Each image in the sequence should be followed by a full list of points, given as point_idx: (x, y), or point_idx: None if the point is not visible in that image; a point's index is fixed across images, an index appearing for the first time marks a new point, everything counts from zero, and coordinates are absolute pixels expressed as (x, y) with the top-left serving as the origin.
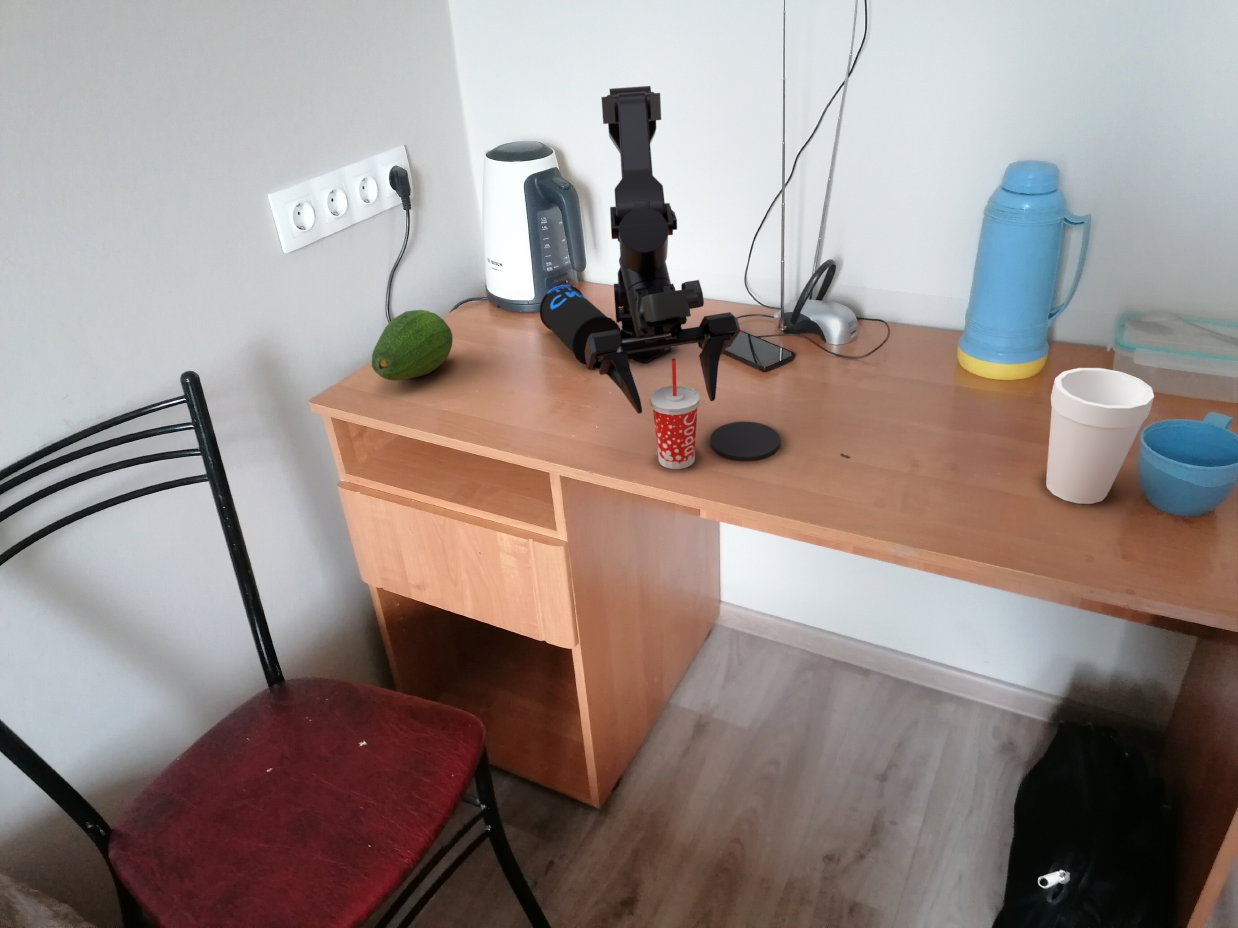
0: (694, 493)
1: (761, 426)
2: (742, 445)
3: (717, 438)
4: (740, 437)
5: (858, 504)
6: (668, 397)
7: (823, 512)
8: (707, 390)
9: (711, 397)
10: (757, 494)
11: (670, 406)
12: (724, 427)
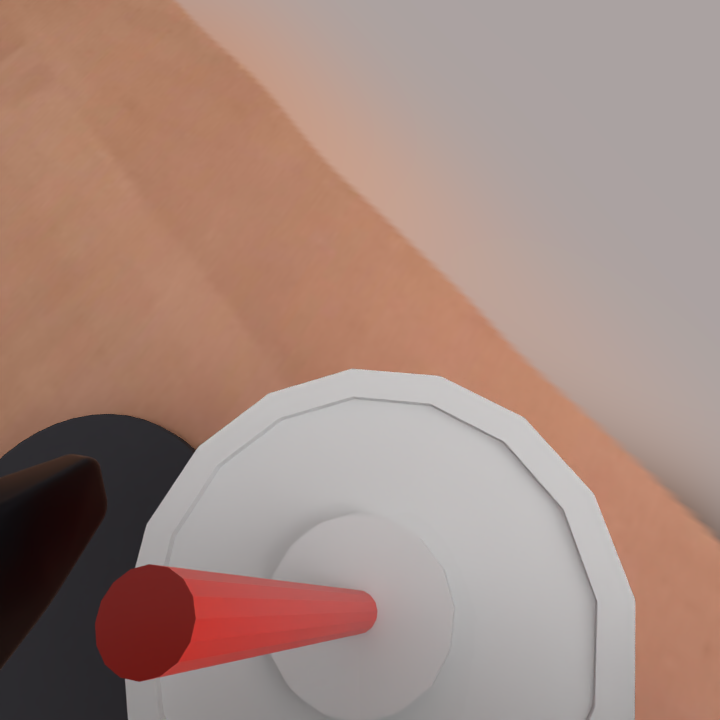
0: (479, 322)
1: None
2: (120, 520)
3: None
4: (80, 594)
5: (77, 92)
6: (437, 601)
7: (176, 90)
8: (40, 589)
9: (89, 477)
10: (278, 229)
11: (480, 468)
12: None
